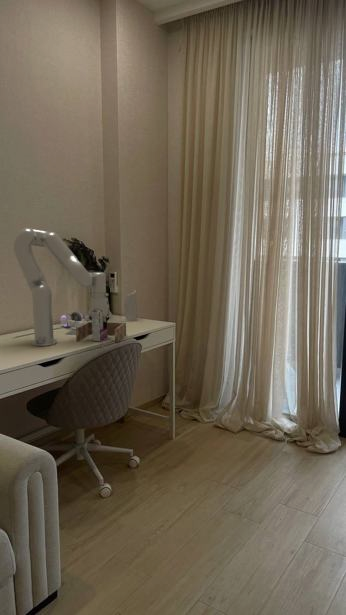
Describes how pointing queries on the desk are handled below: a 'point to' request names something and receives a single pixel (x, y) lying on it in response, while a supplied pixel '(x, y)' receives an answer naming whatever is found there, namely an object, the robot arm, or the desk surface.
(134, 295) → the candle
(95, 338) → the candy bar box
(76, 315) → the headphones
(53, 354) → the desk surface
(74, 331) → the felt mat
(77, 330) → the brown bent panel
